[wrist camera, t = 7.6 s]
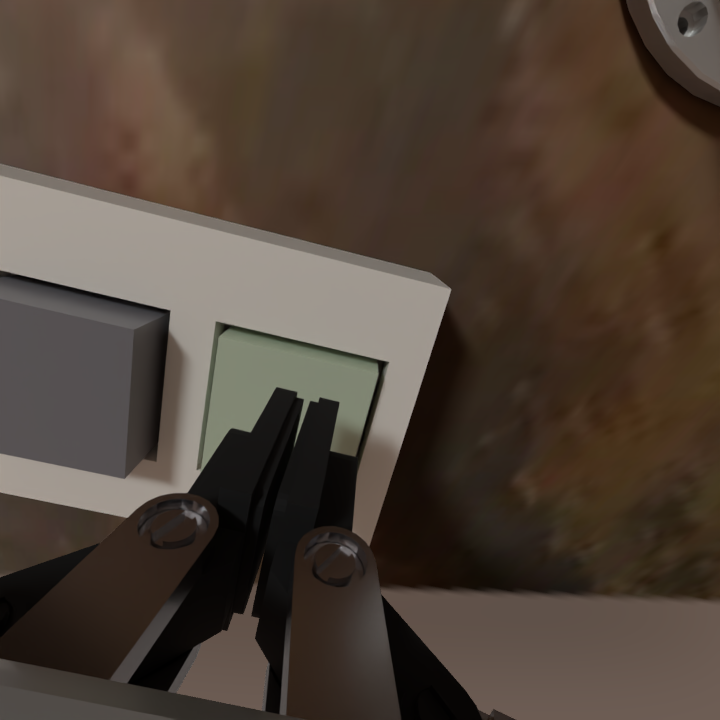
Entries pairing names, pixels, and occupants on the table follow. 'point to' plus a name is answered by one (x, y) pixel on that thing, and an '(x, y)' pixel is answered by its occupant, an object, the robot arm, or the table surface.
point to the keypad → (216, 323)
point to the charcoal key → (79, 376)
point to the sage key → (286, 384)
